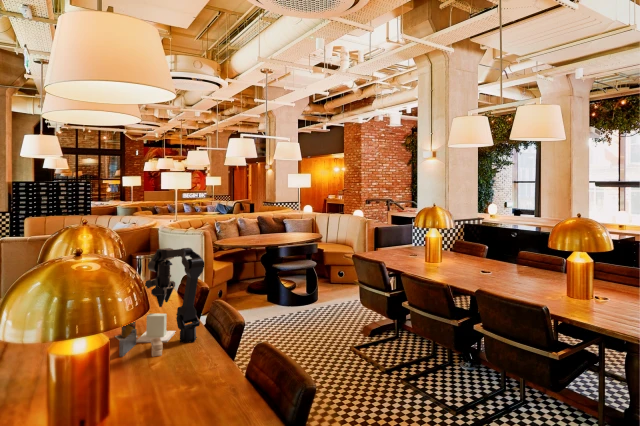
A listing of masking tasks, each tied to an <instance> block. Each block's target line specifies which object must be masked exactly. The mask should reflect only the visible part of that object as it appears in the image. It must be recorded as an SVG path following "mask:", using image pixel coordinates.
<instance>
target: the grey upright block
mask: <svg viewBox="0 0 640 426" xmlns="http://www.w3.org/2000/svg"><path fill="white" fill-rule="evenodd" d="M167 321H168V320H167V313H148V314H147V315H146V330H145V332H146V337H164V336H165V335H166V331H167V324H168V323H167Z"/></svg>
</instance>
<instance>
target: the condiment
mask: <svg viewBox="0 0 640 426" xmlns="http://www.w3.org/2000/svg"><path fill="white" fill-rule="evenodd" d="M136 322H137V320H136V321H135V322H133V323H130V324H128V325H126V326H123V327H122V326H121V334H120V335H115V336H114V338H115V339H117V340H118V341H119V342H120V339H125V338H126V337H127V336H128V335H130V334H131V333H132V330H133V329H136V327H137V324H136ZM136 338H139V336H138V334H136Z"/></svg>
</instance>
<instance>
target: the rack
mask: <svg viewBox="0 0 640 426" xmlns="http://www.w3.org/2000/svg"><path fill="white" fill-rule="evenodd" d="M137 330H138V329H136V328H135V329H133V330H132V333H131V334H130V335H128V336H127V337H126V338H125V339H120V341H119V345H118V346H119V350H118V351H119V355H118V356H119V358H123V357H124V356H125V355H126V354H127V353H129V352H130V350H132V349H133V348H134V347H135V346H136V345H137V342H136V340H137V337H136V335H138V334H137V333H138V331H137Z"/></svg>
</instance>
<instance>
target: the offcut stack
mask: <svg viewBox="0 0 640 426" xmlns="http://www.w3.org/2000/svg"><path fill="white" fill-rule="evenodd" d="M150 345H151V357H159V356H160V357H161V356H163V348H164V347H163V346H164V345H163V342H161V339H160V338H155V339H151V342H150Z"/></svg>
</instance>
